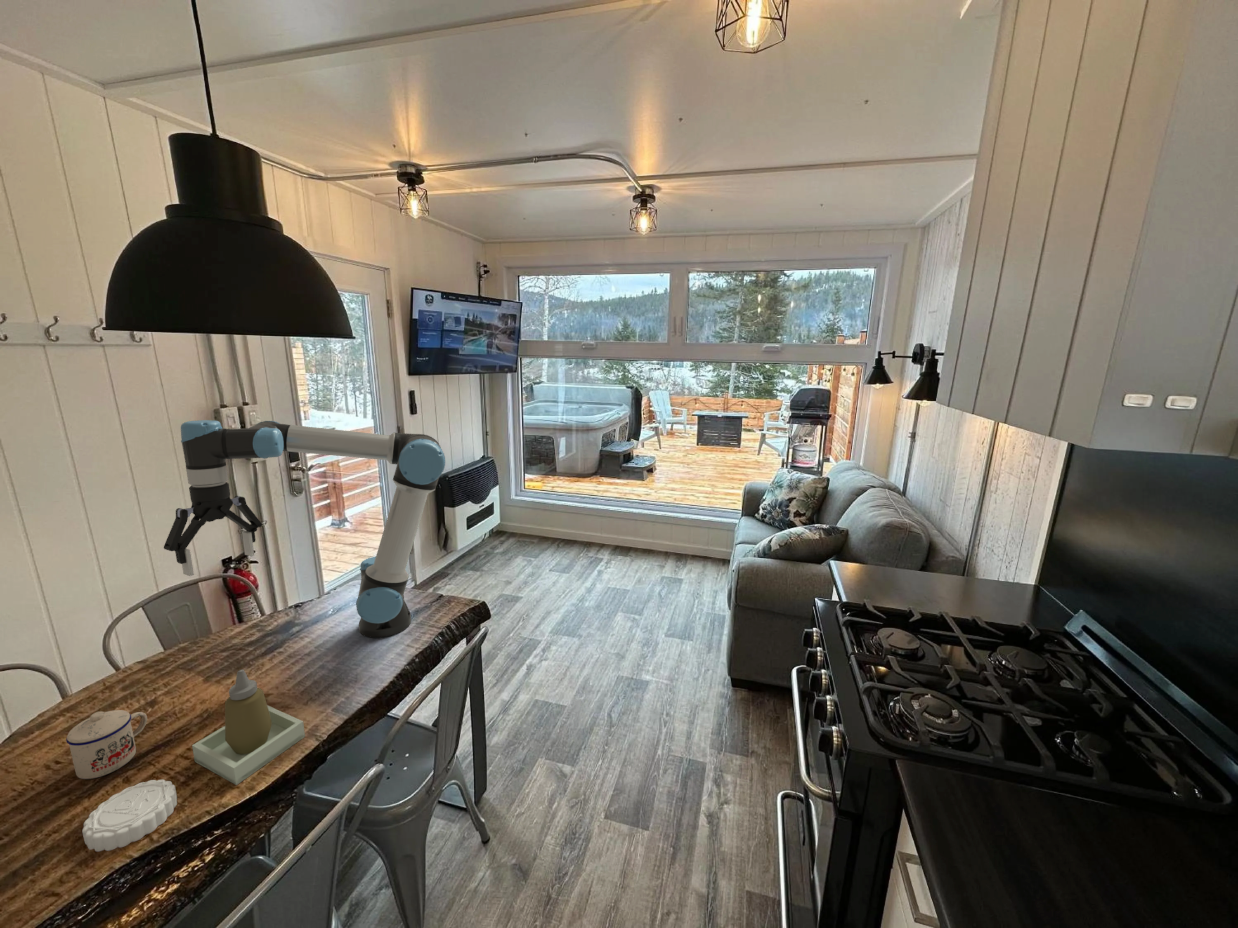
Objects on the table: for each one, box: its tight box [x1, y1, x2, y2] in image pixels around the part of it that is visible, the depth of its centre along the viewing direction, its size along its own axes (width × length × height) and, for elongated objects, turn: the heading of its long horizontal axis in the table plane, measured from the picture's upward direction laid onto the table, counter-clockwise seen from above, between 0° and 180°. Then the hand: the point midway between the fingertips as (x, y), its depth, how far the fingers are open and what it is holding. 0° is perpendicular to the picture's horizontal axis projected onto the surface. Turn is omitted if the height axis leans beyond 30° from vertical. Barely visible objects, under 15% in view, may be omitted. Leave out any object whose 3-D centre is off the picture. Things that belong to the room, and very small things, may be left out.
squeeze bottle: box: [224, 669, 272, 754], centre depth 102 cm, size 8×8×18 cm
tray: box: [191, 704, 306, 786], centre depth 104 cm, size 14×14×4 cm
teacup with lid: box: [66, 709, 148, 780], centre depth 100 cm, size 12×9×12 cm
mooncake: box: [82, 778, 178, 852], centre depth 88 cm, size 12×12×4 cm
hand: (220, 564), depth 122 cm, fingers open, 13 cm apart
